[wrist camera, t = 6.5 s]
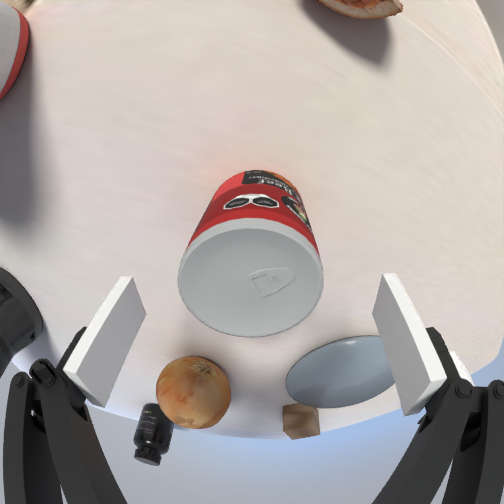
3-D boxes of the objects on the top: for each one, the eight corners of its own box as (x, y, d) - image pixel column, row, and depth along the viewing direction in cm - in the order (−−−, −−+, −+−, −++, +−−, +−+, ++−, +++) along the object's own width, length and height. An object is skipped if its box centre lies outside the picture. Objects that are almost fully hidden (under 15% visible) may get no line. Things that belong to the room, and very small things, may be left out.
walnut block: (291, 416, 44) (292, 439, 39) (282, 405, 41) (283, 430, 37) (318, 410, 42) (320, 434, 38) (311, 399, 40) (313, 425, 36)
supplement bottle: (182, 418, 47) (172, 469, 36) (156, 417, 48) (144, 465, 38) (163, 402, 43) (149, 457, 33) (137, 402, 45) (121, 452, 35)
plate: (284, 404, 41) (284, 411, 40) (288, 336, 32) (288, 345, 31) (384, 394, 40) (386, 400, 39) (421, 325, 30) (424, 331, 29)
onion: (165, 373, 38) (149, 429, 29) (166, 333, 33) (143, 399, 24) (227, 387, 39) (220, 445, 30) (240, 350, 34) (233, 420, 25)
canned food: (319, 214, 24) (350, 294, 14) (251, 263, 27) (243, 355, 17) (262, 147, 21) (259, 188, 12) (194, 207, 24) (149, 282, 15)
